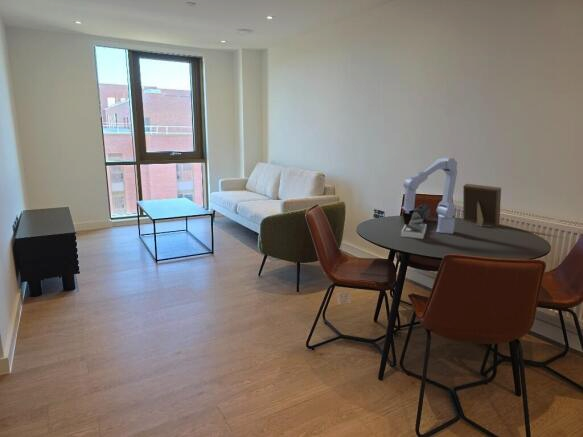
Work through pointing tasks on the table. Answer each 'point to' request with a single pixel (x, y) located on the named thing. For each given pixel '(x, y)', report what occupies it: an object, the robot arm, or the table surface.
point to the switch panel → (414, 232)
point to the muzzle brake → (421, 212)
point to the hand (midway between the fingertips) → (407, 223)
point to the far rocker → (417, 221)
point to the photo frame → (481, 204)
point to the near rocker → (414, 226)
